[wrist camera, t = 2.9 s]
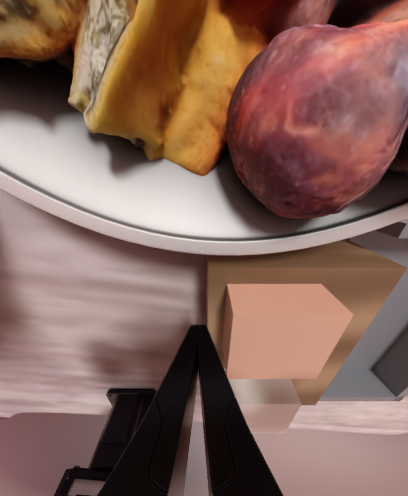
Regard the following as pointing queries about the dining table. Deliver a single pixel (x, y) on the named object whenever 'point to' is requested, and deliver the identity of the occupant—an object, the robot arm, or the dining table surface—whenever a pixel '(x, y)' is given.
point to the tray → (379, 333)
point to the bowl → (208, 119)
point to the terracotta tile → (280, 330)
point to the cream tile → (266, 403)
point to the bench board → (309, 272)
